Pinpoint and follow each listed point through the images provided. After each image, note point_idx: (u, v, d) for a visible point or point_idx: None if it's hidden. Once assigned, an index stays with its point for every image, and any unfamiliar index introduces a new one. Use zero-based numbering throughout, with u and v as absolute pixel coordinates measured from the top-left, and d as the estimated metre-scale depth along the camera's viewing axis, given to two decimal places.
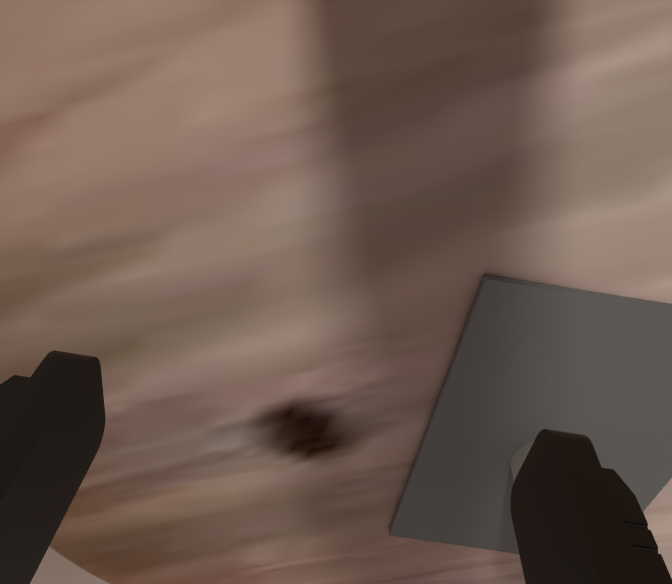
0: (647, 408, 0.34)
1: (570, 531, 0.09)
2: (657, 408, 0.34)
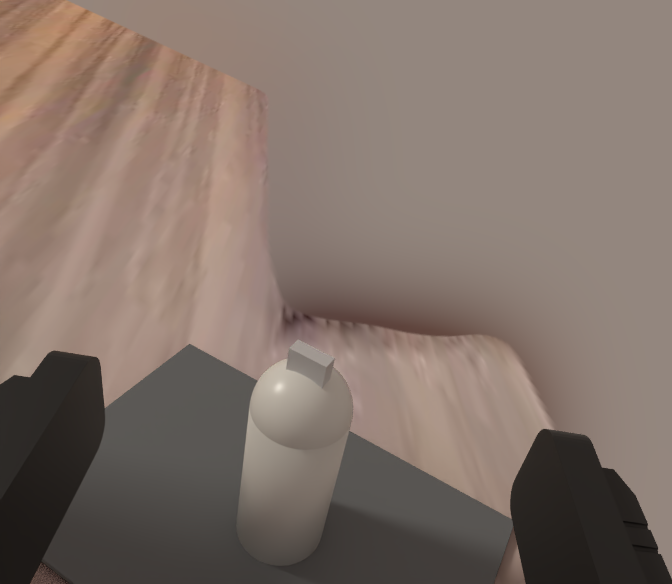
0: (233, 429, 0.36)
1: (570, 531, 0.09)
2: (236, 422, 0.36)
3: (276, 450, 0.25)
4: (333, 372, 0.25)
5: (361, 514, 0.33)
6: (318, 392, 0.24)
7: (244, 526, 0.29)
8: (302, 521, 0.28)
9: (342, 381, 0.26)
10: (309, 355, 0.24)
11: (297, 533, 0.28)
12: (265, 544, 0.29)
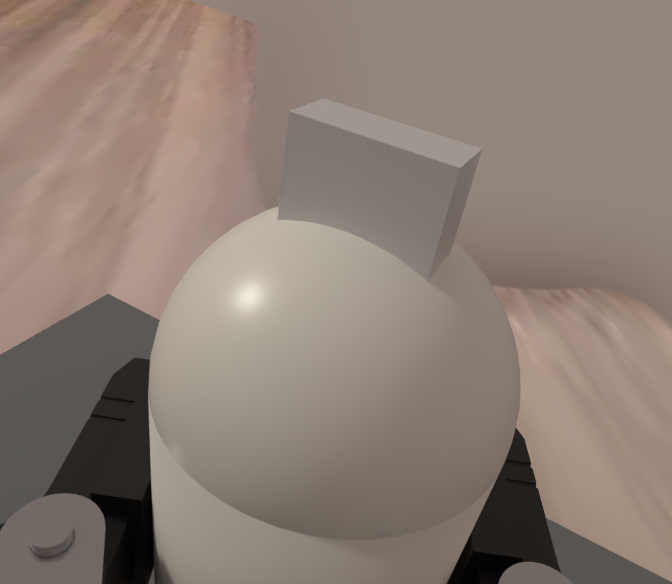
0: None
1: None
2: None
3: (242, 540, 0.06)
4: None
5: None
6: (417, 294, 0.06)
7: None
8: None
9: (484, 276, 0.07)
10: (376, 135, 0.06)
11: None
12: None
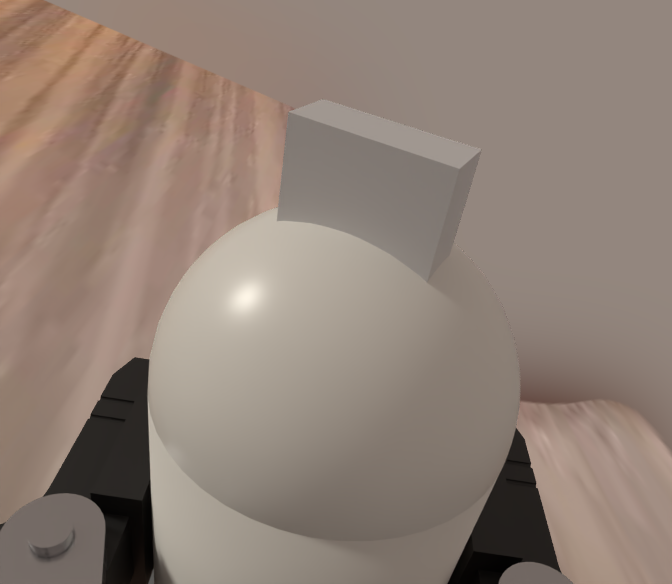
0: None
1: None
2: None
3: (242, 542, 0.06)
4: None
5: None
6: (417, 295, 0.06)
7: None
8: None
9: None
10: (376, 136, 0.06)
11: None
12: None
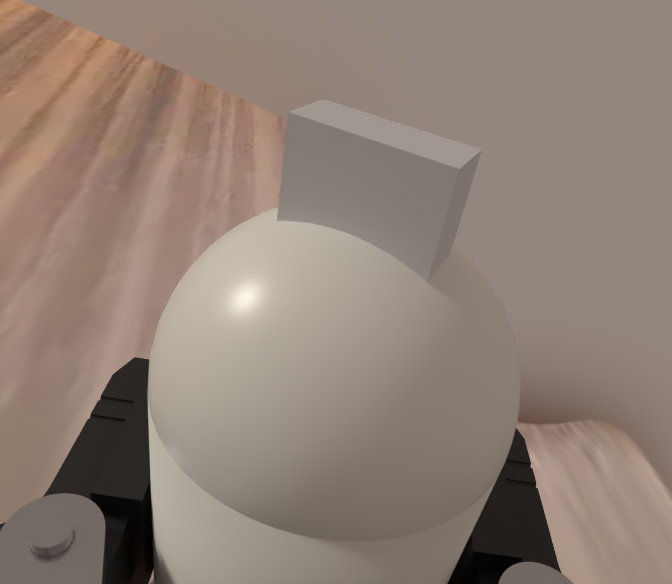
0: None
1: None
2: None
3: (242, 541, 0.06)
4: None
5: None
6: (416, 295, 0.06)
7: None
8: None
9: None
10: (375, 135, 0.06)
11: None
12: None
